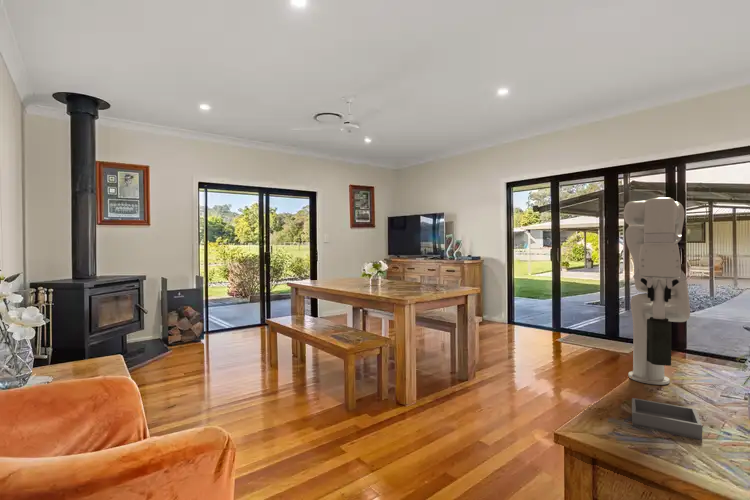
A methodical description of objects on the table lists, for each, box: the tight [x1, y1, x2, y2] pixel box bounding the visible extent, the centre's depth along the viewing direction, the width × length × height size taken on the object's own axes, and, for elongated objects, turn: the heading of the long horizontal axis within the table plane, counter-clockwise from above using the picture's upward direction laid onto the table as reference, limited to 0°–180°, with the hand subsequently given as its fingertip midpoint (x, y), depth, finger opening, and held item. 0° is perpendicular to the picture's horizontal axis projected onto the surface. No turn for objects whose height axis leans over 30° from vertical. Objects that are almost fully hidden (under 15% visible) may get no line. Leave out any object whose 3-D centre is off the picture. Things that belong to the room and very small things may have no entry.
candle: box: [647, 280, 672, 367], centre depth 118 cm, size 5×5×25 cm
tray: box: [631, 397, 703, 441], centre depth 110 cm, size 12×15×4 cm
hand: (659, 300), depth 118 cm, fingers closed on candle, 3 cm apart
